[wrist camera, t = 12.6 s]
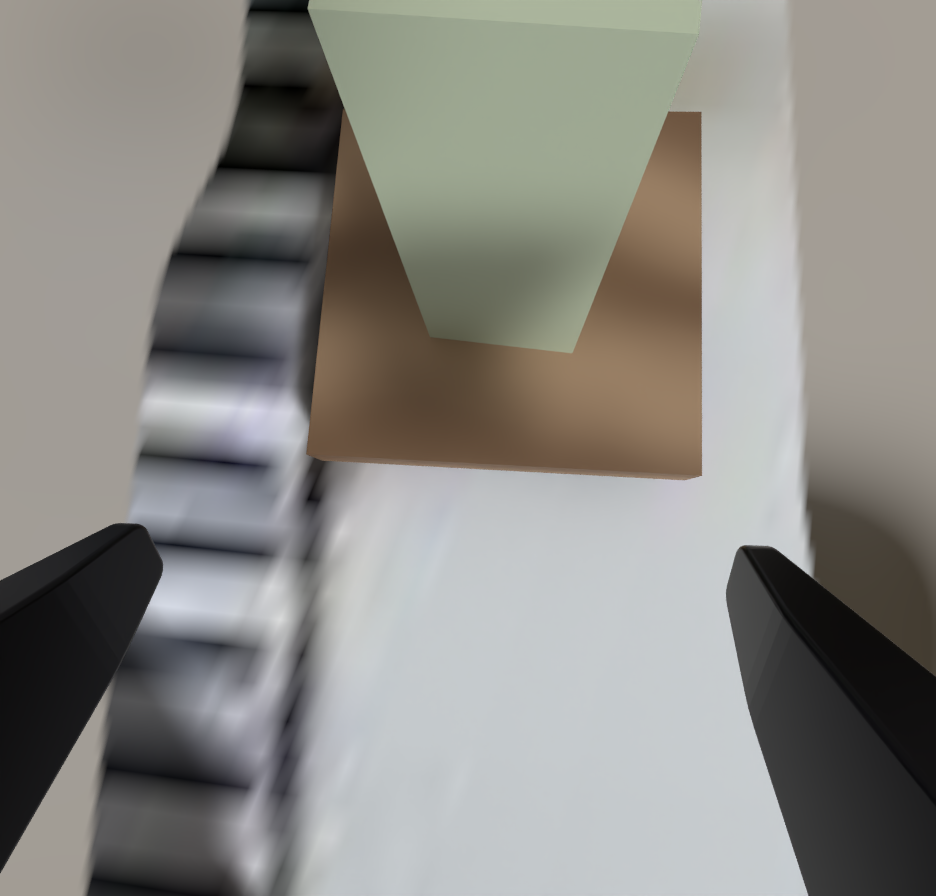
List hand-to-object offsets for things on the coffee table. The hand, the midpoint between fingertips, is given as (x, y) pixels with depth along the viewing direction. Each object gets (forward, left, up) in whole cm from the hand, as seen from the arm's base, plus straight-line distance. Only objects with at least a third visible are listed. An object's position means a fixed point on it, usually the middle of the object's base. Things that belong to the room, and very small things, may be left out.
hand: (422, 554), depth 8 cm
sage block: (+8, +4, -8) cm, 12 cm away
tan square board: (+7, +4, -11) cm, 14 cm away
